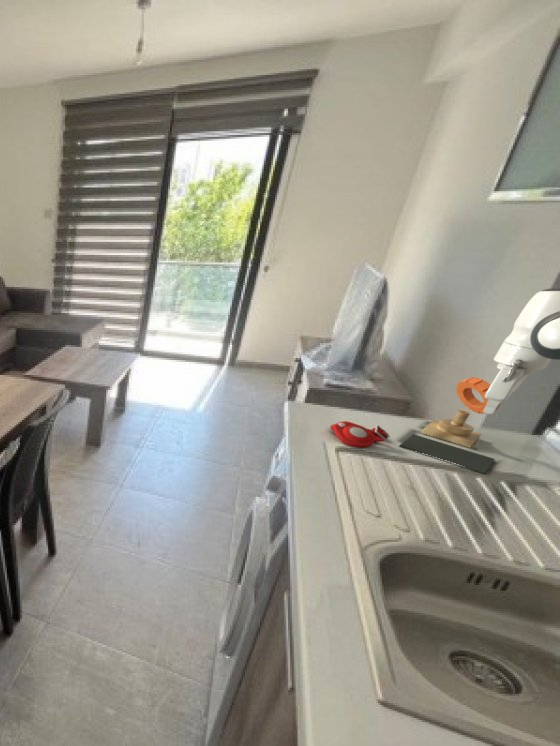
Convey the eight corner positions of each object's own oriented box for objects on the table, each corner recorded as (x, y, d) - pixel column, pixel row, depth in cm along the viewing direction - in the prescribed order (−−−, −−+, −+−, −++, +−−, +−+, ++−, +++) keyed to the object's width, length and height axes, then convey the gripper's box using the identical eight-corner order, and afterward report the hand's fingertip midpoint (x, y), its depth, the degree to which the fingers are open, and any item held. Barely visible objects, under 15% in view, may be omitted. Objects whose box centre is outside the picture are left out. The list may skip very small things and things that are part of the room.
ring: (483, 420, 124) (491, 416, 124) (497, 400, 117) (506, 396, 116) (451, 394, 130) (460, 391, 130) (463, 374, 123) (472, 370, 122)
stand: (478, 438, 128) (493, 414, 125) (470, 448, 123) (486, 423, 119) (431, 424, 135) (444, 401, 132) (421, 433, 129) (434, 409, 126)
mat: (494, 460, 117) (495, 458, 117) (484, 474, 110) (485, 472, 110) (412, 435, 128) (413, 433, 128) (398, 446, 121) (399, 445, 121)
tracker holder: (362, 447, 117) (326, 422, 124) (352, 459, 120) (318, 434, 127) (398, 432, 120) (361, 408, 126) (388, 444, 123) (353, 420, 129)
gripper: (534, 367, 107) (499, 423, 114) (547, 354, 118) (514, 406, 125) (496, 360, 112) (464, 414, 118) (511, 348, 123) (481, 398, 129)
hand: (490, 410), depth 122 cm, fingers closed on ring, 5 cm apart
